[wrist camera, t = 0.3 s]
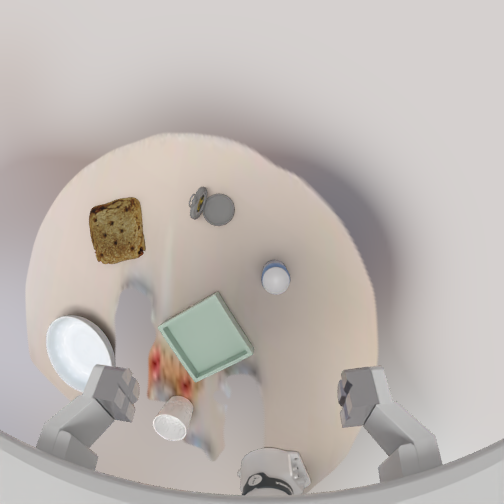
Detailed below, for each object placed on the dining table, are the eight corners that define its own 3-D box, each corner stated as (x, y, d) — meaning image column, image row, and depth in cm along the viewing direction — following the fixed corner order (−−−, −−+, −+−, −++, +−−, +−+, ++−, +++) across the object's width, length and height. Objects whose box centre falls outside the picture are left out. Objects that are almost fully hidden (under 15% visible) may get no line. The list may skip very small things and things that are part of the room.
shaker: (291, 275, 63) (296, 286, 51) (270, 288, 63) (270, 301, 51) (278, 255, 63) (281, 261, 51) (258, 267, 63) (255, 276, 51)
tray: (253, 348, 64) (253, 354, 61) (198, 375, 65) (195, 382, 62) (217, 291, 64) (214, 294, 60) (162, 322, 65) (157, 327, 61)
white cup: (178, 387, 66) (165, 408, 56) (202, 408, 66) (193, 431, 56) (159, 403, 67) (146, 424, 57) (183, 423, 67) (172, 445, 57)
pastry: (126, 282, 65) (121, 284, 62) (78, 239, 65) (71, 239, 62) (165, 220, 64) (161, 219, 61) (112, 179, 64) (106, 177, 61)
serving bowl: (102, 396, 68) (91, 408, 61) (51, 343, 68) (36, 351, 61) (138, 351, 66) (126, 362, 59) (79, 292, 66) (63, 298, 59)
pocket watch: (238, 221, 63) (232, 219, 53) (199, 231, 63) (187, 231, 53) (228, 183, 62) (221, 174, 52) (190, 194, 63) (176, 188, 53)
